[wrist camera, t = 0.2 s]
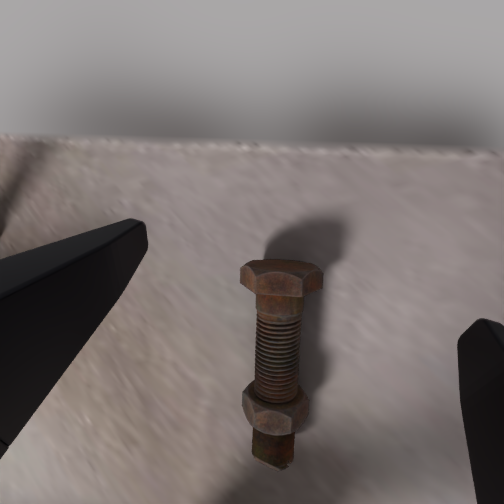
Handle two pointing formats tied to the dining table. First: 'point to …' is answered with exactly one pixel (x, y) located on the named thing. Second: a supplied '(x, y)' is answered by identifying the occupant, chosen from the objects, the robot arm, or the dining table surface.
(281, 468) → the bolt
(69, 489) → the dining table surface
